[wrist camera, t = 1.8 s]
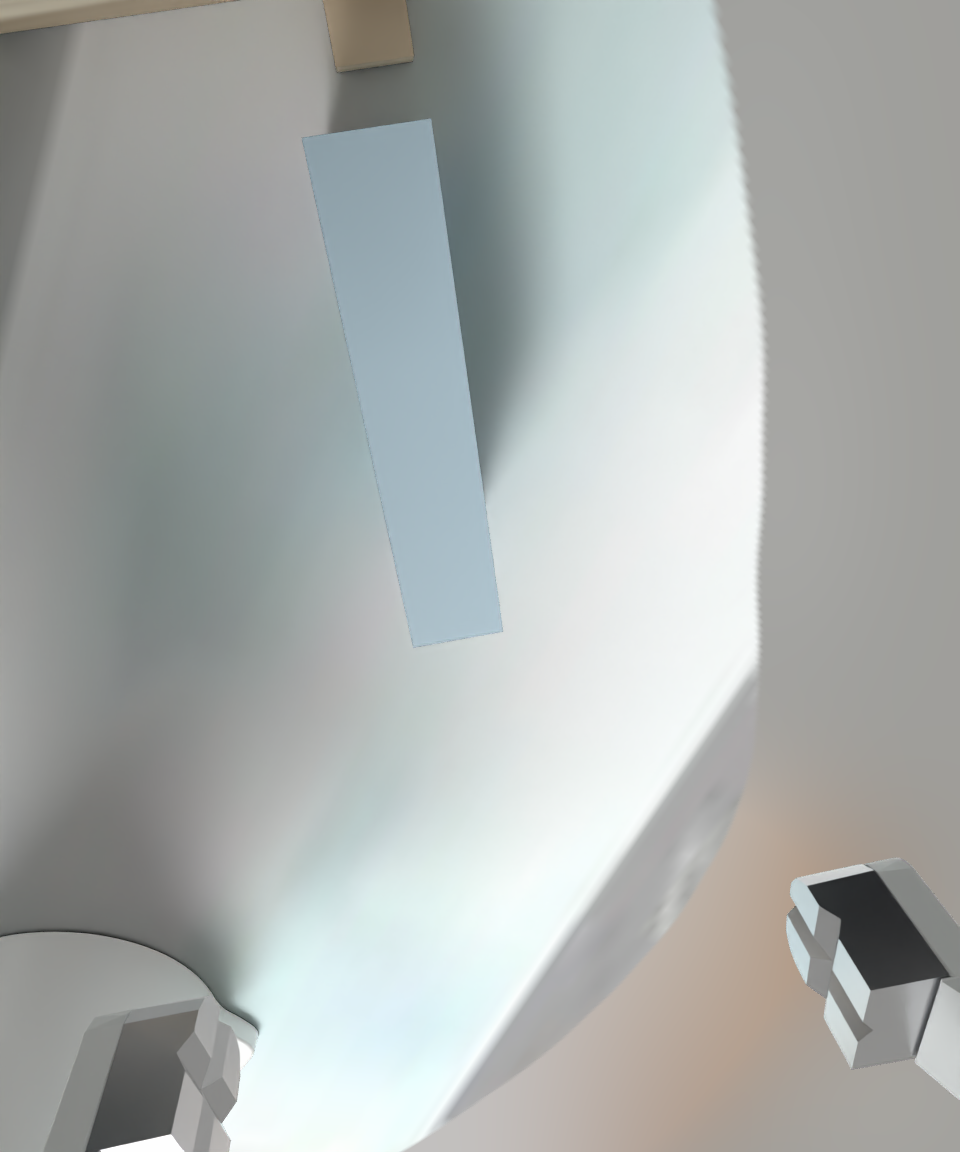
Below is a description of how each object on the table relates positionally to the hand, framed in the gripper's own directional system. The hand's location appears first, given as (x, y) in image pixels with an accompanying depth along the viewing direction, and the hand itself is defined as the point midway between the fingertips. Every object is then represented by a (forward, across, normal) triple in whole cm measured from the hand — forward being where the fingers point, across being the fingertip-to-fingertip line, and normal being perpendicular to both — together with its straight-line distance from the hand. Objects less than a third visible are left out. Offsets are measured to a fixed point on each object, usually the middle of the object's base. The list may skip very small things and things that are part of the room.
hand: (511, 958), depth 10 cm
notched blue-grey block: (+17, 0, -4) cm, 18 cm away
